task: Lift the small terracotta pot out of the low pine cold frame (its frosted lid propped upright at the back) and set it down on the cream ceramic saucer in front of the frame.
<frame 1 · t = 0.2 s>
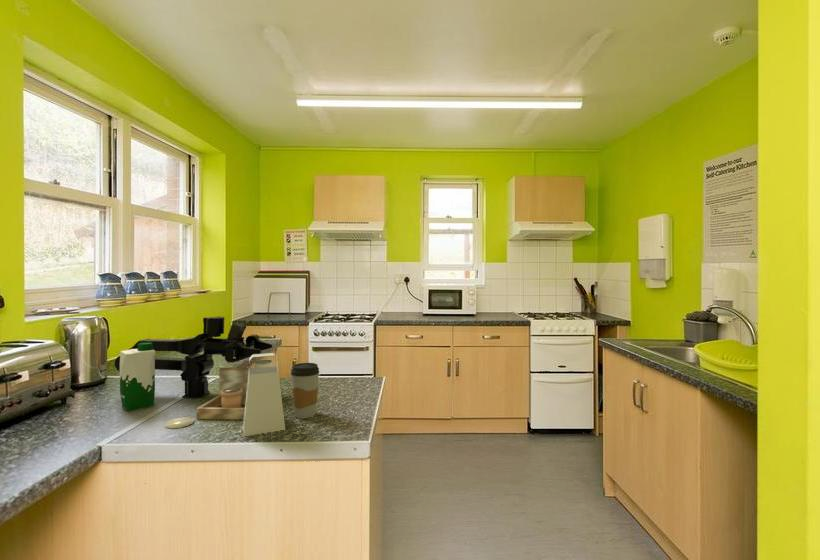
hand: (266, 348, 136), 17 cm above the table, tool horizontal, fingers open, 9 cm apart
grater: (263, 427, 110), on the table
coffee cup: (305, 415, 119), on the table
pot: (231, 413, 120), resting in cold frame
milk carton: (137, 406, 126), on the table
can: (263, 396, 137), on the table
cold frame: (234, 410, 122), on the table
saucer: (179, 423, 112), on the table
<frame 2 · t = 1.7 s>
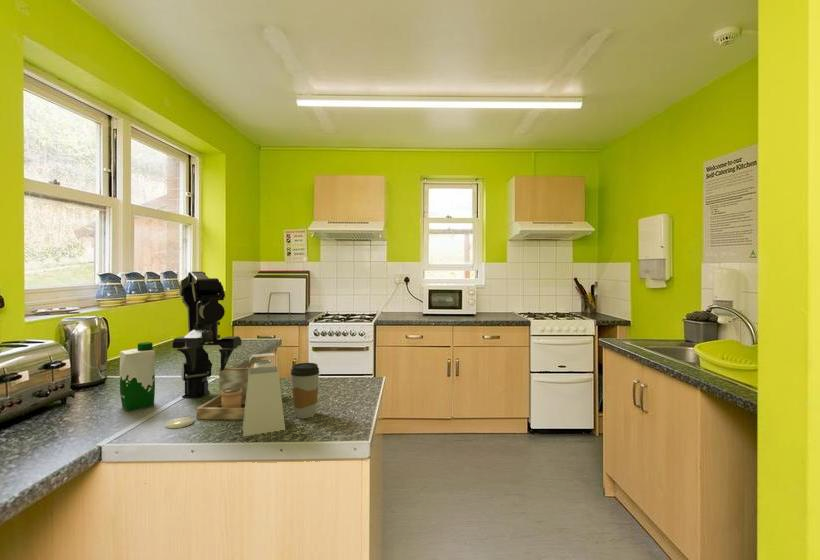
hand: (207, 370, 120), 13 cm above the table, tool pointing down, fingers open, 9 cm apart
nothing on the table moved.
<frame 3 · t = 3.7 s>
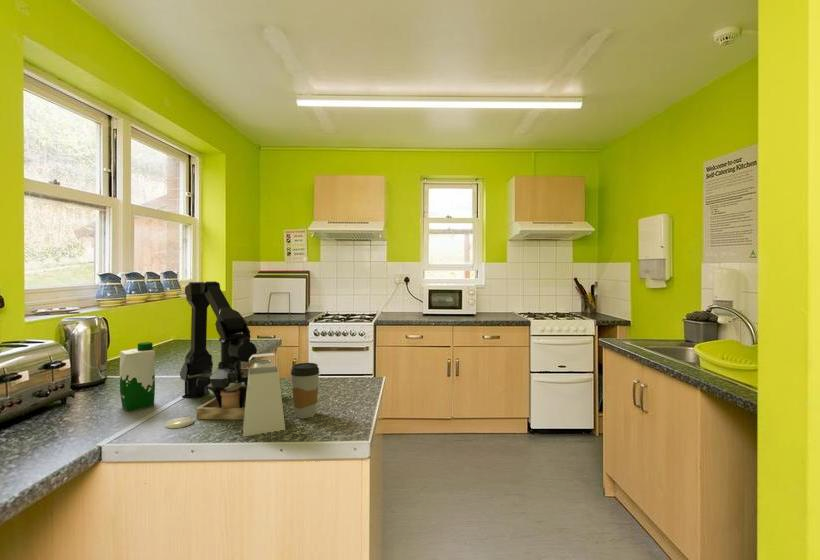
hand: (231, 408, 120), 2 cm above the table, tool pointing down, fingers closed on pot, 6 cm apart
pot: (231, 413, 120), resting in cold frame, touching gripper
everything else where it was.
when the fingers open (3 cm above the table, at t = 8.2 s): pot drops 1 cm, resting on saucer.
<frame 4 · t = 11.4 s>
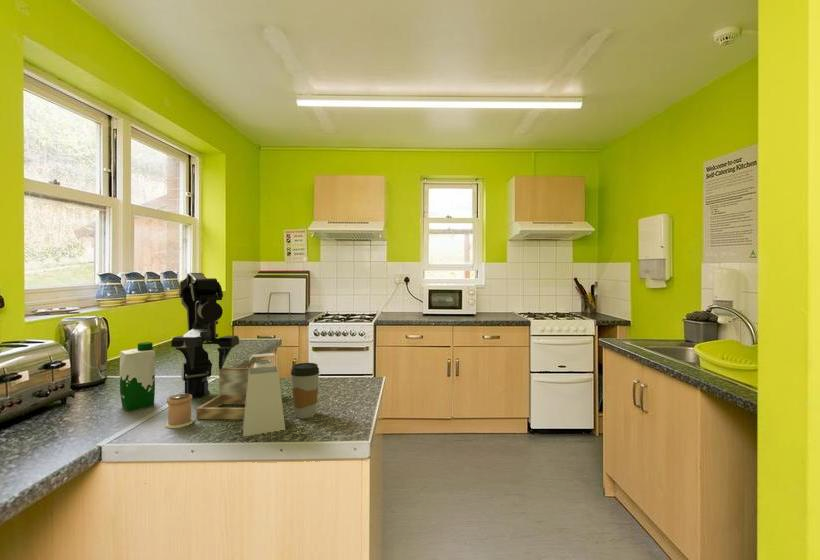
hand: (205, 368, 122), 13 cm above the table, tool pointing down, fingers open, 9 cm apart
pot: (179, 421, 112), point 1 cm above the table, touching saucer
everything else where it was.
at the end: pot 0.0 cm off-centre on the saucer, point 0.6 cm above the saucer's base; pot tilted 0°; the gripper is holding nothing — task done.
